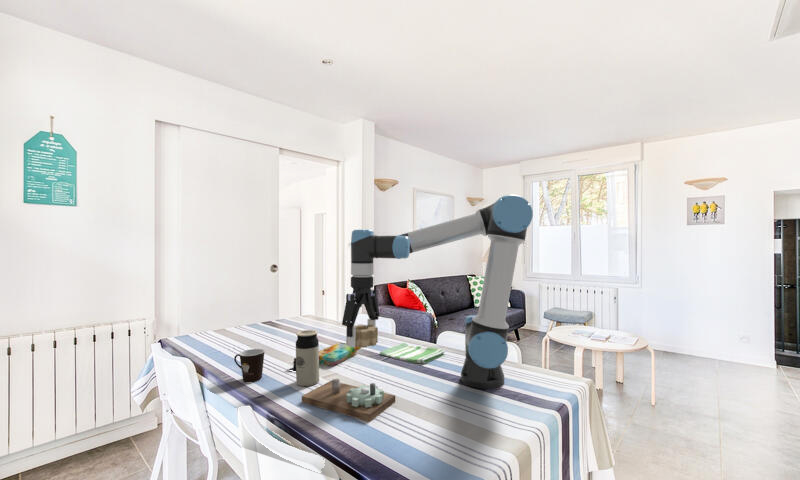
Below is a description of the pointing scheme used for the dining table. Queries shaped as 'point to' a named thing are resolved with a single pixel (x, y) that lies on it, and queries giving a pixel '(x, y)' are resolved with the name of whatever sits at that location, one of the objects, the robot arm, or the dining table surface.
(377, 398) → the gear
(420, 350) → the dish towel
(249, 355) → the coffee mug
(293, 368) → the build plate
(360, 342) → the beech gear
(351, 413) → the gear board
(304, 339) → the travel mug
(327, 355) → the puzzle game
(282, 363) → the dining table surface
